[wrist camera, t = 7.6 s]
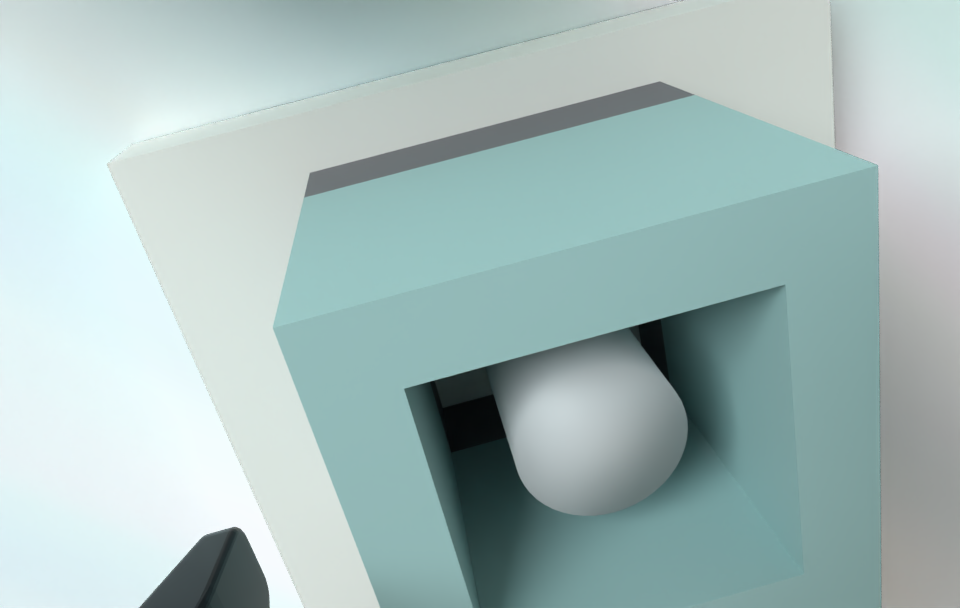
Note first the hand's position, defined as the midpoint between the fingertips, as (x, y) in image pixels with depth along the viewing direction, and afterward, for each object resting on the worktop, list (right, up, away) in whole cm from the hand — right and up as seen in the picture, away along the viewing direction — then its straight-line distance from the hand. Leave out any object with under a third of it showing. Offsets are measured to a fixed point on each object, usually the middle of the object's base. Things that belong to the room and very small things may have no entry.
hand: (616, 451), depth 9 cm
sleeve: (-1, +2, +5) cm, 5 cm away
